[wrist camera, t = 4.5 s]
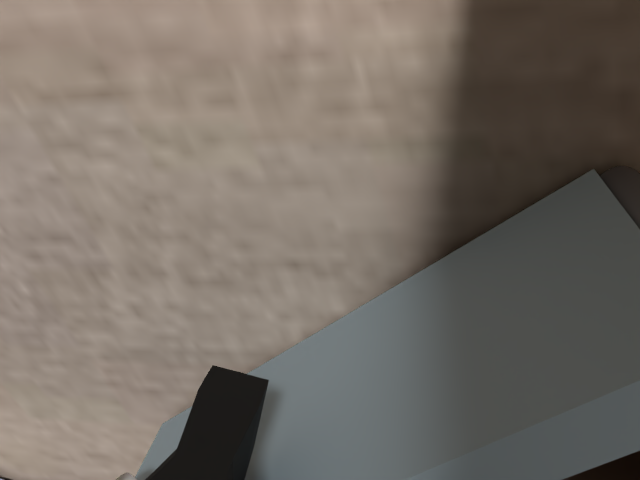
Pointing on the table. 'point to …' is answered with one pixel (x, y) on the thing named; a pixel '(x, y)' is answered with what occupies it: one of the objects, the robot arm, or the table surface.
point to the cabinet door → (471, 359)
